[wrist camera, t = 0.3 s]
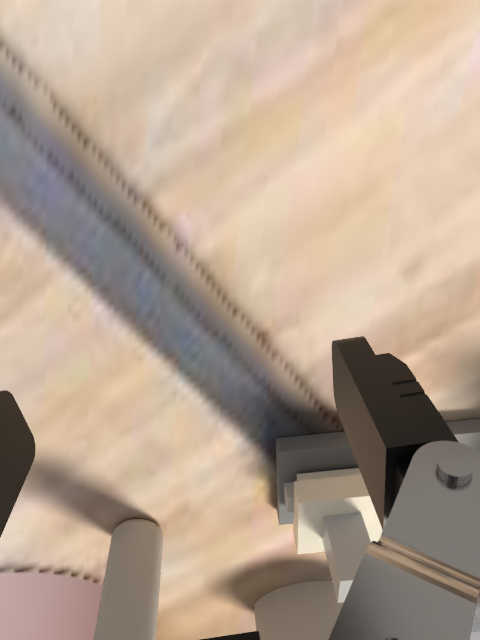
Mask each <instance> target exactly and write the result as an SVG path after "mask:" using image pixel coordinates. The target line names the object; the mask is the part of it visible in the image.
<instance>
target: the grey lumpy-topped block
mask: <svg viewBox="0 0 480 640" xmlns="http://www.w3.org/2000/svg"><path fill="white" fill-rule="evenodd" d="M343 604H344V602H341V603H337V599H336V595H335V590H334V586H333V582H332V580H328V581H307V582H299V583H295V584H291V585H288V586H284V587H281V588H279V589H276V590H273V591H271V592H269V593H267V594H266V595H264V596H262V597H261V598H260V599H259V600H257V602H256V603H255V606H254V610H255V620H256V631H259V634H260V638H261V640H328V639H329V637H330V635H331V632H332V630H333V627H334V625H335V623H336V620H337V618H338V615H339V613H340V611H341V608H342V606H343Z"/></svg>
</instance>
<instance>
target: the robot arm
mask: <svg viewBox="0 0 480 640" xmlns="http://www.w3.org/2000/svg"><path fill="white" fill-rule="evenodd" d="M332 363H333V387H334V398H335V403H336V408H337V412H338V415H339V418H340V420H341V423H342V425H343V428H344V431H345V433H346V436H347V438H348V441H349V444H350V446H351V449H352V451H353V454H354V457H355V459H356V462H357V464H358V467H359V470H360V472H361V475H362V477H363V480H364V483H365V485H366V488H367V490H368V493H369V496H370V498H371V501H372V503H373V506H374V509H375V511H376V514H377V516H378V519H379V522H380V524H381V527H382V529H383V532H382V535H381V537H380V539H379V540H378V542H376V541H372V542H371V543H370V544H369V546H368V548H367V550H366V552H365V554H364V556H363V558H362V561H361V563H360V565H359V568H358V570H357V573H356V575H355V577H354V580H353V582H352V584H351V587H350V589H349V592H348V594H347V596H346V599H345V601H344V604H343V606H342V608H341V611H340V613H339V615H338V618H337V620H336V623H335V625H334V627H333V630H332V632H331V635H330V637H329V639H328V640H470V634H471V630H472V625H473V620H474V615H475V609H476V604H477V599H478V594H479V587H480V451H478V450H476V449H475V448H472V447H470V446H468V445H465V444H462V443H459V441H458V440H457V439H456V437H455V436H454V434H453V433H452V431H451V430H450V428H449V427H448V425H447V424H446V422H445V421H444V419H443V418H442V416H441V415H440V414H439V412H438V411H437V409H436V408H435V406H434V405H433V403H432V402H431V400H430V399H429V397H428V396H427V394H426V395H425V393H424V390H423V388H422V387H421V385H420V384H419V382H417V381H416V378H415V377H414V375H413V374H412V372H411V371H410V369H409V368H408V366H407V365H406V364H405V363H403V362H402V361H400V360H399V359H397V358H396V357H394V356H393V355H391V354H390V353H387V354H380V355H375V354H374V352H373V350H372V348H371V347H370V345H369V343H368V342H367V340H366V339H365V337H363V336H362V337H355V338H349V339H342V340H336V341H333V342H332ZM34 457H35V441H34V437H33V435H32V433H31V431H30V429H29V427H28V425H27V423H26V421H25V419H24V417H23V415H22V413H21V411H20V409H19V407H18V405H17V403H16V401H15V399H14V397H13V395H12V394H11V393H10V392H8V391H0V537H1V535H2V532H3V530H4V528H5V525H6V523H7V521H8V518H9V516H10V514H11V512H12V509H13V507H14V505H15V502H16V500H17V498H18V495H19V493H20V491H21V488H22V486H23V484H24V482H25V479H26V477H27V475H28V472H29V470H30V468H31V465H32V463H33V460H34ZM201 640H261V638H260V634H259V631H255V632H248V633H242V634H235V635H228V636H221V637H215V638H208V639H201Z"/></svg>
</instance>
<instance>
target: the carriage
mask: <svg viewBox="0 0 480 640" xmlns="http://www.w3.org/2000/svg"><path fill="white" fill-rule="evenodd" d="M293 533H294V538H295V543H296V549H297V554H305V553H315V552H324V551H325V553H326V557H327V561H328V566H329V570H330V574H331V578H332V582H333V586H334V590H335V595H336V599H337V603H341V602H344V601H345V599H346V596H347V594H348V592H349V589H350V587H351V584H352V582H353V580H354V577H355V575H356V573H357V570H358V568H359V565H360V563H361V561H362V558H363V556H364V554H365V552H366V550H367V548H368V546H369V544H370V543H371V542H372V541H376V542H378V540H379V539H380V537H381V533H382V527H381V524H380V522H379V519H378V516H377V514H376V511H375V509H374V506H373V503H372V501H371V498H370V496H369V493H368V490H367V488H366V485H365V483H364V480H363V477H362V475H361V472H360V470H359V468H353V469H343V470H333V471H322V472H312V473H302V474H297V481H294V525H293Z"/></svg>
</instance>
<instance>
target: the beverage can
mask: <svg viewBox="0 0 480 640" xmlns="http://www.w3.org/2000/svg"><path fill="white" fill-rule="evenodd" d="M162 546H163V533H162V531H161V529H160V528H159V527H158V525H156V524H155V523H154V522H152V521H149V520H145V519H130V520H127V521H124V522H122V523H121V524H120V525H119V526H117V527H116V528H115V530H114V531H113V533H112V538H111V544H110V549H109V555H108V561H107V566H106V572H105V578H104V583H103V590H102V595H101V600H100V606H99V612H98V617H97V623H96V629H95V634H94V640H156V628H157V614H158V601H159V587H160V574H161V560H162Z"/></svg>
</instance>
